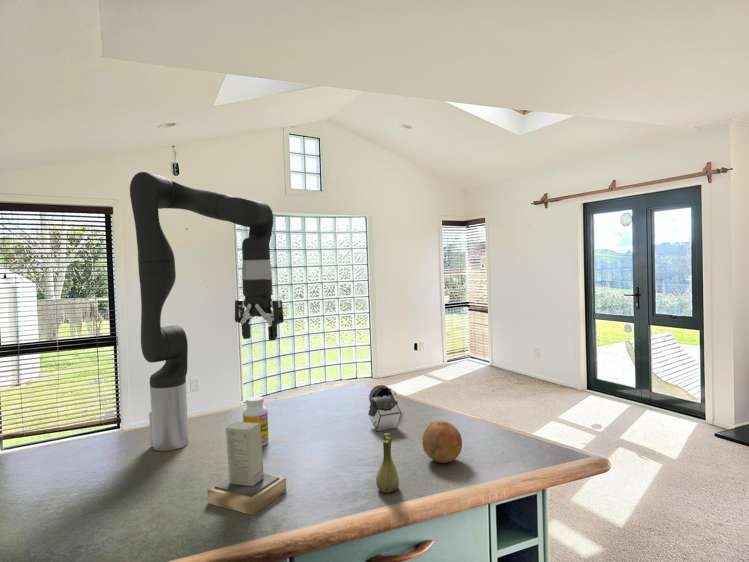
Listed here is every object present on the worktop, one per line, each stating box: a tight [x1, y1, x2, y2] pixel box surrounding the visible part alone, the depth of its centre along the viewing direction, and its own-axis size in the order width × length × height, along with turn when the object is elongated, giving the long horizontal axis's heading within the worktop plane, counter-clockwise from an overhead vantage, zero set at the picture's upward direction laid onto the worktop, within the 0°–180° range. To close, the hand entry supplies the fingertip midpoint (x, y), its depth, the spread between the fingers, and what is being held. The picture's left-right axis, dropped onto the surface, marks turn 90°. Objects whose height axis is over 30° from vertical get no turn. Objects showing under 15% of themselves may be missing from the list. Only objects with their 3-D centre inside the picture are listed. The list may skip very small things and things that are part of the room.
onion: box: [421, 420, 463, 464], centre depth 121 cm, size 10×10×10 cm
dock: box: [206, 472, 287, 516], centre depth 105 cm, size 12×11×3 cm
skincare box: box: [225, 421, 265, 486], centre depth 105 cm, size 6×4×12 cm
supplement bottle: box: [242, 395, 269, 447], centre depth 136 cm, size 7×7×13 cm
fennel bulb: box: [375, 432, 400, 494], centre depth 106 cm, size 6×5×12 cm
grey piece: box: [367, 384, 402, 433], centre depth 152 cm, size 25×10×10 cm, turn 0°
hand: (259, 339), depth 128 cm, fingers open, 8 cm apart
